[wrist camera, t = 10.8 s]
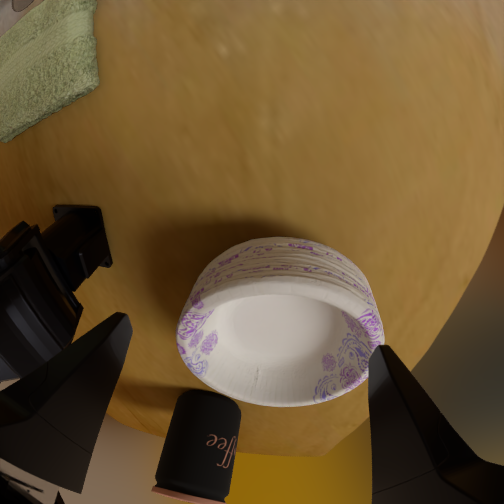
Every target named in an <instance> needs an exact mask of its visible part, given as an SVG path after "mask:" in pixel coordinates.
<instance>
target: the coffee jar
mask: <svg viewBox="0 0 504 504" xmlns="http://www.w3.org/2000/svg"><path fill="white" fill-rule="evenodd" d="M240 421H241V411H240V409H239V408H238V405H237V404H236V403H235V402H234V401H233V400H231V399H230V398H228V397H226V396H223V395H221V394H217V393H214V392H209V391H203V390H192V391H187V392H185V393H184V394H183V395H181V396H179V398H178V399H177V402H176V406H175V409H174V412H173V416H172V419H171V422H170V426H169V429H168V433H167V436H166V439H165V443H164V447H163V450H162V453H161V457H160V461H159V464H158V468H157V472H156V475H155V479H156V481H157V484H156V485H155V487H154V486H153V488H152V492H154V493H157V494H160V495H164V496H167V497H170V498H174V499H178V500H182V501H186V502H190V503H194V504H226V503H225V501H224V498H225V497H226V496H228V494H229V490H230V484H231V478H232V472H233V465H234V459H235V453H236V447H237V440H238V434H239V428H240Z"/></svg>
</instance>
